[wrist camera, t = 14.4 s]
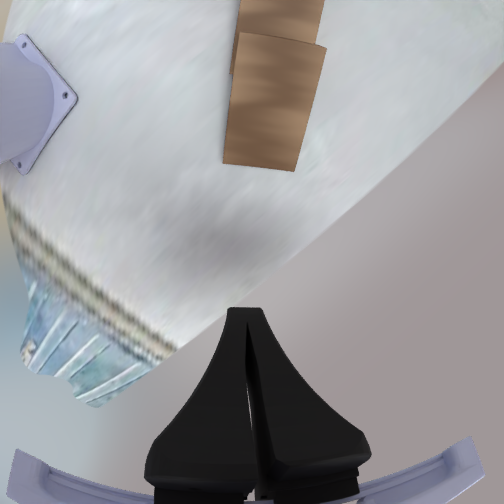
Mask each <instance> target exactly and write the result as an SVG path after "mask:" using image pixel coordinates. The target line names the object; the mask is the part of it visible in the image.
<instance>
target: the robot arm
mask: <svg viewBox="0 0 504 504" xmlns="http://www.w3.org/2000/svg"><path fill="white" fill-rule="evenodd" d="M26 43H27V44H26ZM25 45H26V47H25ZM66 93H68V97H67V98H66V97H65V94H66ZM76 101H77V96H76V94H75V93H74V92H73V90H72V89H71V88H70V87H69V86H68V85H67V83H66V82H65V81H64V80H63V79H62V78H61V76H60V75H59V74H58V73H57V72H56V70H55V69H54V68H53V67H52V66H51V65H50V63H49V62H48V61H47V60H46V59H45V57H44V56H43V55H42V54H41V52H40V51H39V50H38V49H37V48H36V46H35V45H34V44H33V43H32V41H31V40H30V39H29V38H28V36H27V35H26V34H20V35H19V36H18V37H17V39H16V40H15V42H14V43H0V164H2V163H4V162H6V161H8V160H11V162H12V163H13V164H14V166H15V167H16V168H17V170H18V171H19V172H20V173H21V174H22V175H25V174H27V173H28V172H29V170H30V168H31V167H32V165H33V163H34V162H35V160H36V158H37V157H38V155H39V153H40V152H41V150H42V149H43V147H44V146H45V144H46V143H47V141H48V140H49V138H50V137H51V135H52V134H53V132H54V131H55V129H56V128H57V127H58V125H59V124H60V123H61V121H62V120H63V118H64V117H65V116H66V115H67V113H68V112H69V111H70V109H71V108H72V107H73V106H74V104H75V103H76ZM20 163H21V165H22V166H21V165H20ZM246 383H247V384H246ZM247 389H248V394H247ZM248 395H249V401H250V409H251V420H252V428H251V421H250V412H249V403H248ZM371 455H372V454H371V451H370V447H369V444H368V442H367V440H366V438H365V435H364V433H363V432H362V431H361V430H359V429H358V428H356V427H355V426H353V425H352V424H351V423H349V422H348V421H347V420H345V419H344V418H343V417H342V416H340V415H339V414H338V413H337V412H336V411H335V410H333V409H332V408H331V407H330V406H329V405H328V404H327V403H326V402H325V401H324V400H323V399H322V398H321V397H320V396H319V395H317V393H315V391H313V389H312V388H311V387H310V386H309V385H308V384H307V382H306V381H305V380H304V379H303V377H301V375H300V374H299V373H298V371H297V370H296V369H295V367H294V366H293V364H292V363H291V362H290V360H289V359H288V357H287V356H286V354H285V353H284V351H283V349H282V348H281V346H280V344H279V343H278V341H277V339H276V338H275V336H274V334H273V332H272V330H271V328H270V326H269V324H268V322H267V320H266V317H265V315H264V313H263V310H262V309H261V308H246V307H230V308H228V309H227V318H226V322H225V326H224V329H223V332H222V335H221V338H220V341H219V343H218V346H217V348H216V351H215V353H214V355H213V358H212V359H211V362H210V364H209V366H208V368H207V370H206V372H205V373H204V375H203V377H202V379H201V380H200V382H199V384H198V385H197V387H196V389H195V390H194V392H193V393H192V395H191V396H190V398H189V399H188V401H187V402H186V403H185V405H184V406H183V408H182V409H181V410H180V411H179V413H178V414H177V415H176V416H175V418H174V419H173V420H172V421H171V423H170V424H169V425H168V426H167V427H166V428H165V429H164V430H163V431H162V433H161V434H160V435H159V436H158V437H157V438H156V439H155V440H154V442H153V444H152V446H151V448H150V451H149V453H148V456H147V459H146V463H145V472H144V478H145V480H146V481H147V482H149V483H150V484H151V485H153V486H154V487H155V490H154V496H152V495H146V494H141V493H136V492H131V491H126V490H122V489H118V488H114V487H109V486H106V485H102V484H99V483H95V482H92V481H89V480H86V479H83V478H80V477H77V476H74V475H71V474H68V473H65V472H63V471H60V470H57V469H55V468H53V467H50V466H49V465H48V464H46V463H45V462H43V461H41V460H40V459H38V458H36V457H34V456H31V455H29V454H27V453H25V452H23V451H21V450H19V449H16V451H15V455H14V459H13V463H12V467H11V472H10V477H9V482H8V487H7V493H6V494H7V496H8V497H9V498H11V499H12V500H14V501H16V502H17V503H19V504H342V503H346V502H350V501H353V500H357V499H359V500H358V501H357V504H446V503H448V502H449V501H451V500H452V499H453V498H455V497H456V496H458V495H459V494H460V493H462V492H463V491H465V490H466V489H468V488H469V487H470V486H472V485H473V484H475V483H476V482H477V481H479V480H480V479H481V478H483V477H484V476H485V472H484V469H483V466H482V464H481V461H480V458H479V455H478V453H477V450H476V448H475V445H474V443H473V440H472V438H471V436H468V437H466V438H465V439H463V440H461V441H459V442H457V443H456V444H454V445H452V446H450V447H449V448H447V449H446V450H445V451H443V452H442V453H441V454H438V455H436V456H434V457H432V458H430V459H428V460H426V461H423V462H421V463H419V464H416V465H414V466H412V467H409V468H406V469H404V470H401V471H399V472H396V473H393V474H390V475H387V476H384V477H382V478H379V479H375V480H372V481H369V482H365V483H362V484H358V482H357V476H359V471H358V467H359V466H360V465H362V464H363V463H365V462H366V461H367V460H369V459H370V457H371ZM253 489H255V501H246V502H245V501H244V500H247V496H248V494H249V493H251V492H252V491H253Z"/></svg>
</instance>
